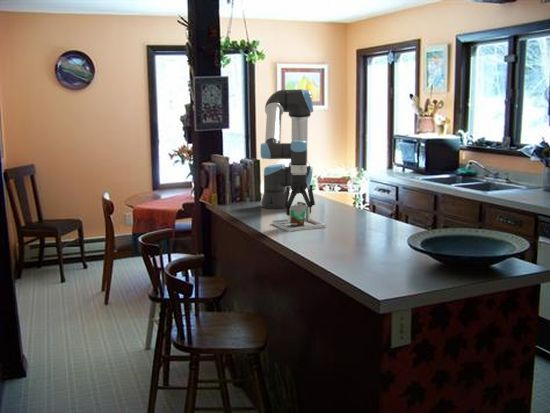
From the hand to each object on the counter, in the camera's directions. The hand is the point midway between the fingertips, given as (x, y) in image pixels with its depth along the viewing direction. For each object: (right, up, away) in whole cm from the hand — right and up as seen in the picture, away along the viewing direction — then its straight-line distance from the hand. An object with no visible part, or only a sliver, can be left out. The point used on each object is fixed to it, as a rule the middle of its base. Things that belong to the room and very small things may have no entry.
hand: (298, 221), depth 285 cm
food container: (0, -2, 0) cm, 2 cm away
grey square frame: (0, -2, 0) cm, 2 cm away
